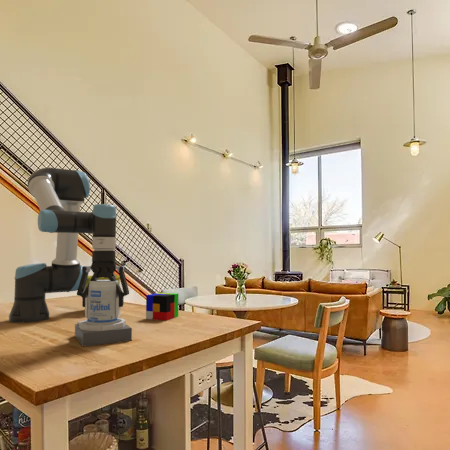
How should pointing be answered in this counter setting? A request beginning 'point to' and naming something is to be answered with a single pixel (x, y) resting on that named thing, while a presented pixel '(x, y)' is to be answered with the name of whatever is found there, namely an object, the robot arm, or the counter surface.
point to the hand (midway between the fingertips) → (102, 316)
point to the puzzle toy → (162, 306)
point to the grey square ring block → (102, 333)
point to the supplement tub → (102, 302)
